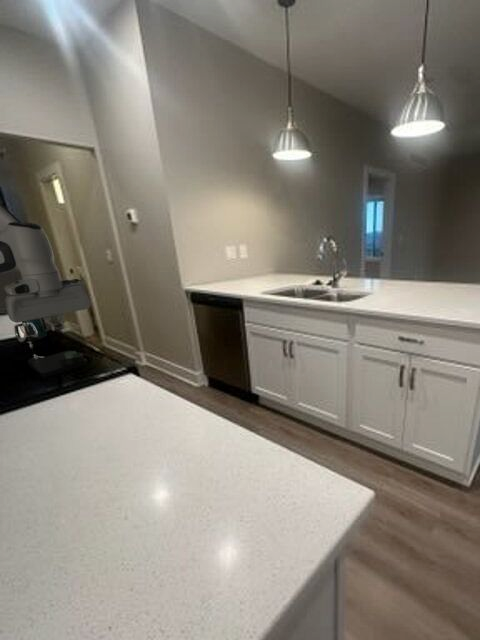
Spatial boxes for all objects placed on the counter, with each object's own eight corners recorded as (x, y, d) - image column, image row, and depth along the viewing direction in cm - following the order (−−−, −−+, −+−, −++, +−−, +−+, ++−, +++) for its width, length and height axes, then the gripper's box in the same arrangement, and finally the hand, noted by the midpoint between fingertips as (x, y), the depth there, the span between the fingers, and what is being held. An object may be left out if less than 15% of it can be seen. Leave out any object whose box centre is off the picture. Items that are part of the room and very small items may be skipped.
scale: (44, 378, 99) (40, 368, 98) (28, 365, 109) (25, 357, 108) (88, 364, 108) (85, 355, 106) (70, 353, 117) (68, 345, 116)
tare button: (67, 360, 104) (66, 355, 104) (64, 358, 106) (62, 353, 106) (79, 357, 106) (77, 352, 106) (75, 354, 108) (74, 350, 108)
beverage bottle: (24, 342, 132) (5, 291, 124) (41, 337, 138) (23, 287, 130) (36, 343, 130) (17, 291, 122) (53, 338, 136) (35, 287, 128)
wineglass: (50, 357, 115) (37, 322, 111) (30, 363, 111) (17, 328, 106) (41, 354, 118) (29, 321, 114) (22, 360, 114) (8, 326, 109)
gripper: (79, 277, 107) (91, 319, 112) (-4, 288, 93) (15, 336, 98) (87, 278, 103) (99, 322, 108) (1, 290, 89) (20, 340, 94)
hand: (58, 329), depth 103 cm, fingers closed
